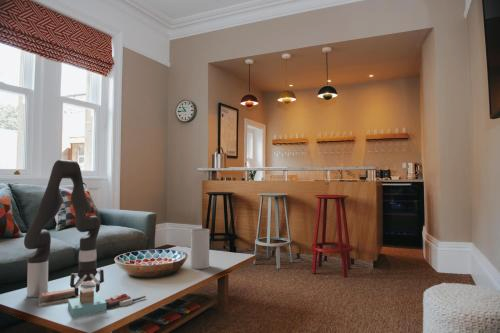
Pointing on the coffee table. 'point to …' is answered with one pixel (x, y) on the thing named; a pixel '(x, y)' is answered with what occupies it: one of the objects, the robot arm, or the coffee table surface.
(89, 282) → the sitting furry creature
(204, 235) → the cylinder vase
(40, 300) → the packaged product
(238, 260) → the coffee table surface
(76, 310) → the teal base block
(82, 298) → the walnut block
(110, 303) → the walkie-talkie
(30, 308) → the coffee table surface
